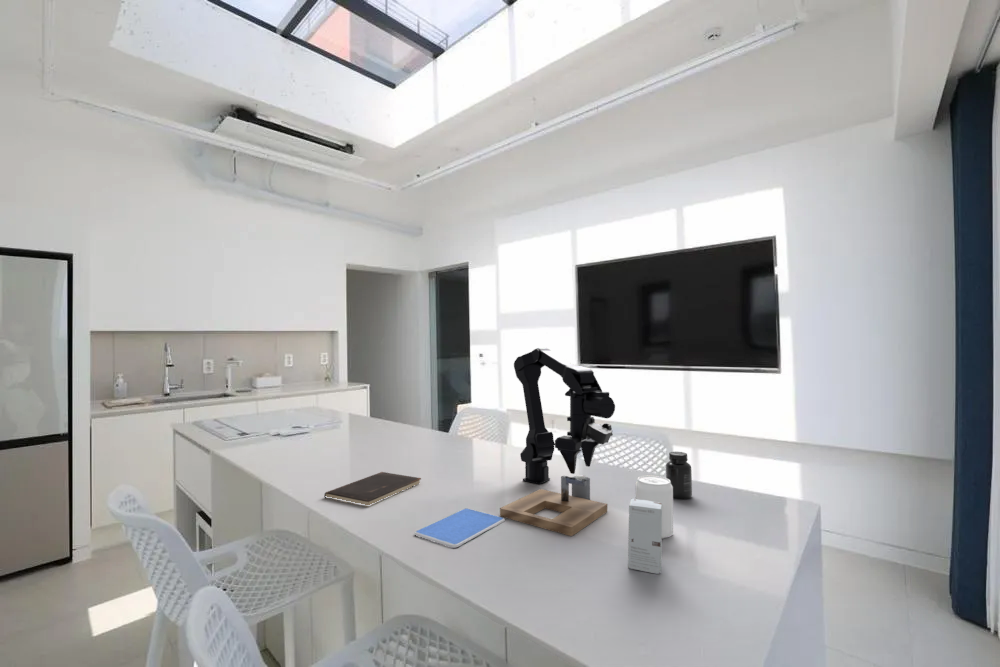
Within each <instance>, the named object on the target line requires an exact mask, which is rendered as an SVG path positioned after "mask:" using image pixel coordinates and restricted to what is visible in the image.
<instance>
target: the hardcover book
mask: <svg viewBox="0 0 1000 667" xmlns="http://www.w3.org/2000/svg"><path fill="white" fill-rule="evenodd" d="M421 480H422V478H421V477H415V476H411V475H410V476H409V475H402V474H398V473H391V472H390V473H389V472H386V471H380V472H378V473H375V474H372V475H369V476H367V477H363V478H361V479H358V480H355V481H353V482H350V483H347V484H345V485H343V486H340V487H336V488H334V489H331V490H328V491H326V492H325V493H324V497H325V496H327V497H332V498H337V499H342V500H346V501H351V502H355V503H361V504H365V505H370V504H372V503H375V502H377V501H379V500H381V499H384V498H386V497H388V496H391V495H393V494H395V493H398V492H400V491H402V490H405V489H407V488H409V487H411V488H413V487H412V486H414V485H416V486H418V485H420V484H419V483H420V481H421ZM417 484H418V485H417ZM414 487H415V486H414ZM409 489H410V488H409ZM407 490H408V489H407ZM405 491H406V490H405ZM400 493H401V492H400ZM398 494H399V493H398ZM324 497H323V498H324ZM391 497H392V496H391Z"/></svg>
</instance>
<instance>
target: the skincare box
mask: <svg viewBox="0 0 1000 667" xmlns="http://www.w3.org/2000/svg"><path fill="white" fill-rule="evenodd" d="M628 514H629V515H628V543H627V544H628V546H627V548H628V552H627V553H628V554H627V558H628V560H627V569H629V570H630V569H632V570H636V571H641V572H646V573H652V574H656V575H659V574H661V568H662V552H663V551H662V548H663V546H662V542H663V541H662V539H663V538H662V503H659V502H653V501H647V500H638V499H635V498H631V500H630V502H629V505H628Z"/></svg>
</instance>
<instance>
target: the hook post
mask: <svg viewBox="0 0 1000 667" xmlns="http://www.w3.org/2000/svg"><path fill="white" fill-rule="evenodd" d="M572 477H573V476H572ZM572 477H571V476H567V475H562V476H561V477H560V493H561V500H562V501H569V495H570V485H569V484H571V485H572V484H575V485H580V486H586V485H587V480H582V479H577V478H572Z"/></svg>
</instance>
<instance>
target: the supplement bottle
mask: <svg viewBox="0 0 1000 667" xmlns="http://www.w3.org/2000/svg"><path fill="white" fill-rule="evenodd" d="M668 456H669V457H668V460H669V461H667V463H666V465H665V478H667V479H669V480H670V481H671V485H672V487H673V499H676V500H689V499H691V498H692V497H693V477H692V476H693V474H692V473H693V472H692V470H693V469H692V464H690V463H689V462H687V461H689V459H688V453H686V452H683V451H670V452H669V455H668Z"/></svg>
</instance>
